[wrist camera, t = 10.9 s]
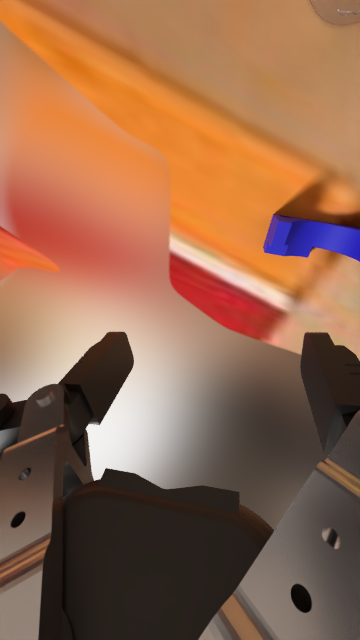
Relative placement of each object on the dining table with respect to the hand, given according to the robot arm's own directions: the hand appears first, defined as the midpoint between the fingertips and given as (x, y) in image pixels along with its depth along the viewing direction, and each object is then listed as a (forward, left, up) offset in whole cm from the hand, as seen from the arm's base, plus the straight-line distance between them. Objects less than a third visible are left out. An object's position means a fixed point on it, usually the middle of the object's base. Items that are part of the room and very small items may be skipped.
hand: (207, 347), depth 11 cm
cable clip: (+2, +11, -28) cm, 31 cm away
